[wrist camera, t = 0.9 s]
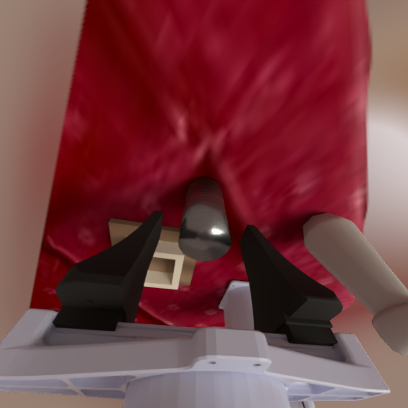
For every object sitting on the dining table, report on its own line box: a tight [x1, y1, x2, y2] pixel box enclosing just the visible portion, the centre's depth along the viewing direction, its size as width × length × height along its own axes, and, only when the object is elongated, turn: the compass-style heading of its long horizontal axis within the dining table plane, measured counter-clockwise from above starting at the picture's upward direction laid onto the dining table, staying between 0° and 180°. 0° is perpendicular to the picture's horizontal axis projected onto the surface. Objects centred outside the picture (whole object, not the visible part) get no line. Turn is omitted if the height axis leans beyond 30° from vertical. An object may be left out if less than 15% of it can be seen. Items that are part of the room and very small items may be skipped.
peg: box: [178, 176, 231, 261], centre depth 16 cm, size 4×4×8 cm
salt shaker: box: [303, 213, 408, 356], centre depth 16 cm, size 6×6×13 cm
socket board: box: [108, 218, 196, 290], centre depth 24 cm, size 12×12×3 cm
